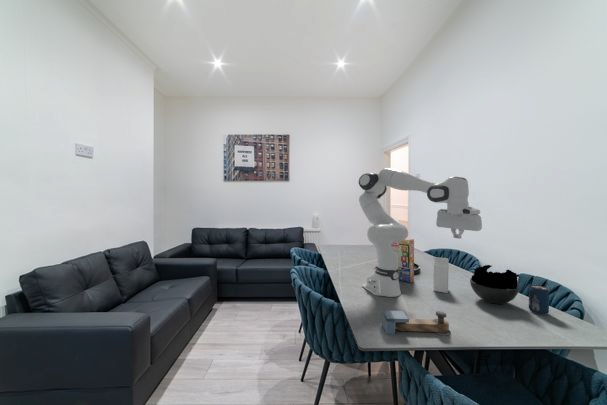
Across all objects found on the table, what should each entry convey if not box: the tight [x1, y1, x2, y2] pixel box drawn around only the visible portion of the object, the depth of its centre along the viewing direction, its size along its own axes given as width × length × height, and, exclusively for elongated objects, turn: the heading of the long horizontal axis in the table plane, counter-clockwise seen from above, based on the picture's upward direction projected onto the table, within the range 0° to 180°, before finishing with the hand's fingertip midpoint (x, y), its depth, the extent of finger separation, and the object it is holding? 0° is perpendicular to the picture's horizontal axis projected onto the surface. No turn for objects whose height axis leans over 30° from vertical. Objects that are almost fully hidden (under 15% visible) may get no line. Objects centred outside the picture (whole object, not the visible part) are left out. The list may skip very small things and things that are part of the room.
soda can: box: [528, 284, 550, 316], centre depth 118 cm, size 7×7×12 cm
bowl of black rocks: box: [469, 264, 520, 305], centre depth 129 cm, size 20×20×19 cm
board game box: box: [391, 238, 415, 283], centre depth 167 cm, size 20×6×27 cm, turn 46°
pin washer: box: [434, 329, 452, 336], centre depth 102 cm, size 7×7×1 cm
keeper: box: [381, 310, 410, 335], centre depth 102 cm, size 8×7×6 cm
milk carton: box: [433, 256, 449, 294], centre depth 146 cm, size 7×7×19 cm
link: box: [395, 310, 450, 333], centre depth 102 cm, size 21×6×7 cm, turn 87°
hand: (457, 238), depth 122 cm, fingers closed
